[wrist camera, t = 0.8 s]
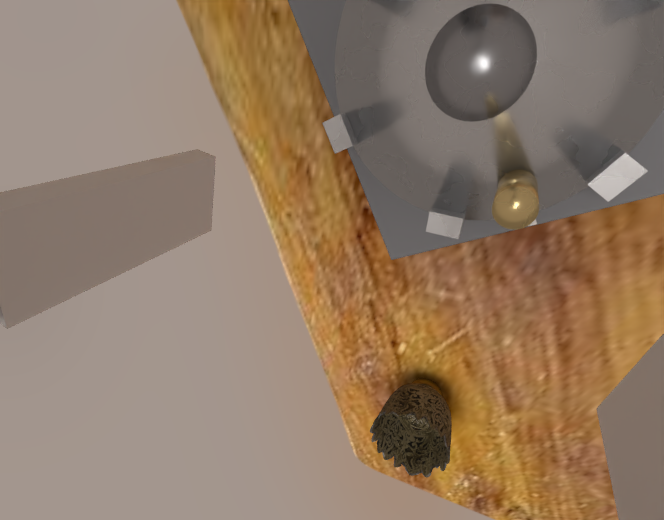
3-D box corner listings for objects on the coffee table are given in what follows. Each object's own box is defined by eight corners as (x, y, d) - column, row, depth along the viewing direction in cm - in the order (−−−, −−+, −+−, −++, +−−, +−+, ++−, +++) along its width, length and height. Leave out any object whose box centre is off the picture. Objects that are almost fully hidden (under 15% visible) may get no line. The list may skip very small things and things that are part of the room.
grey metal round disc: (298, 3, 30) (233, -16, 23) (667, -272, 18) (747, -470, 11) (392, 241, 34) (360, 281, 28) (731, 149, 23) (812, 181, 16)
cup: (428, 350, 40) (408, 404, 33) (477, 401, 40) (467, 465, 33) (381, 377, 44) (355, 430, 38) (425, 423, 44) (407, 484, 38)
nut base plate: (292, -10, 31) (281, -14, 30) (674, -308, 18) (685, -339, 17) (396, 253, 37) (390, 260, 35) (742, 166, 24) (755, 172, 23)
